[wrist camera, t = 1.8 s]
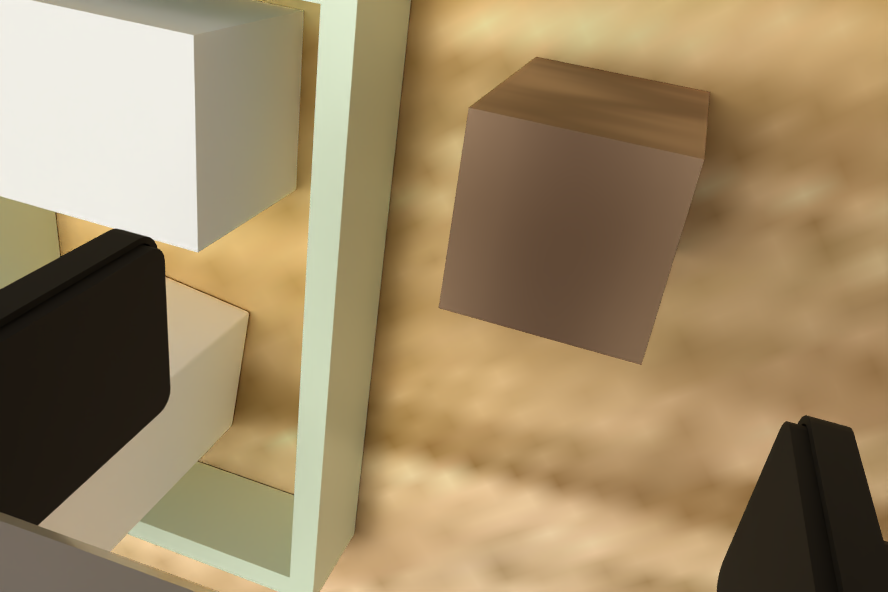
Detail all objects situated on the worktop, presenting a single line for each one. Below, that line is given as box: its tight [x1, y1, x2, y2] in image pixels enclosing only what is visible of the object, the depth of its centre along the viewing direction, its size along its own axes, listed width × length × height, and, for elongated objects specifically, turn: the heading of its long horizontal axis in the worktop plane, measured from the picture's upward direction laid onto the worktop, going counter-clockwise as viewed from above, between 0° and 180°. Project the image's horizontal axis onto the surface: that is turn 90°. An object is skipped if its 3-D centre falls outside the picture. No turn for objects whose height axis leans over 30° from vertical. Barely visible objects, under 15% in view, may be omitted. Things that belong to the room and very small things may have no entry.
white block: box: [0, 0, 304, 252], centre depth 24 cm, size 7×6×6 cm
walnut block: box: [439, 57, 710, 365], centre depth 20 cm, size 5×5×7 cm
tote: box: [0, 0, 411, 592], centre depth 28 cm, size 15×23×4 cm, turn 172°
